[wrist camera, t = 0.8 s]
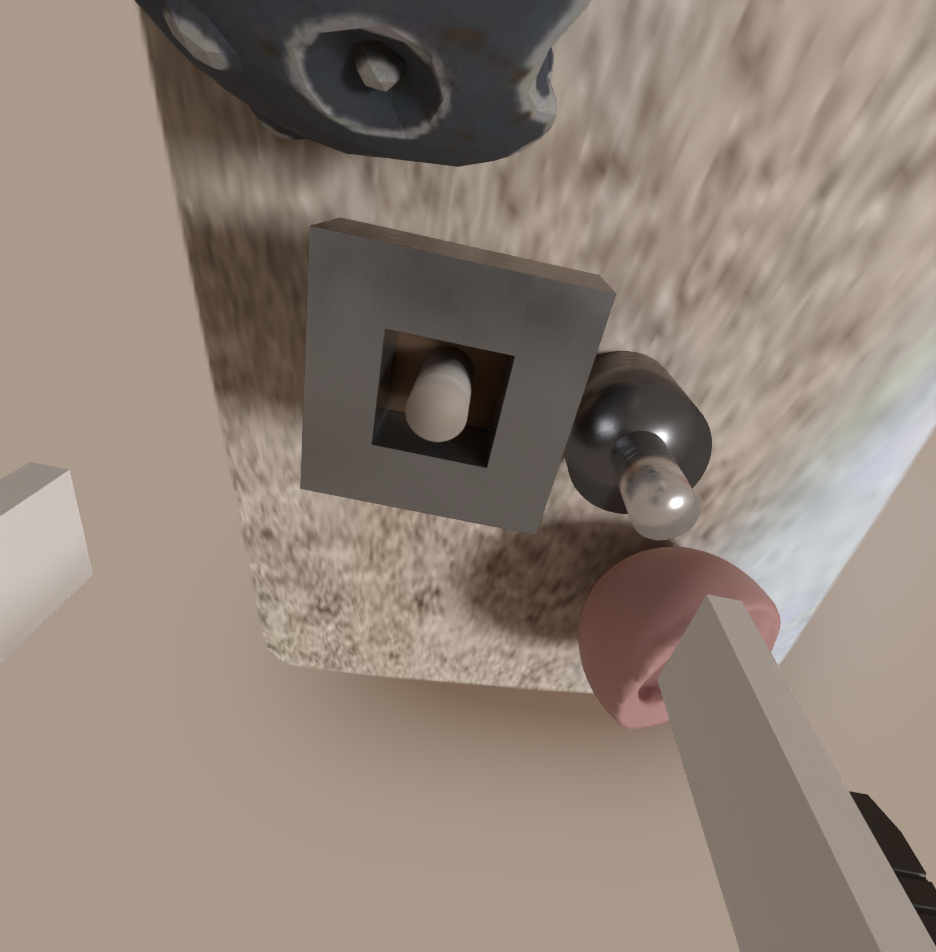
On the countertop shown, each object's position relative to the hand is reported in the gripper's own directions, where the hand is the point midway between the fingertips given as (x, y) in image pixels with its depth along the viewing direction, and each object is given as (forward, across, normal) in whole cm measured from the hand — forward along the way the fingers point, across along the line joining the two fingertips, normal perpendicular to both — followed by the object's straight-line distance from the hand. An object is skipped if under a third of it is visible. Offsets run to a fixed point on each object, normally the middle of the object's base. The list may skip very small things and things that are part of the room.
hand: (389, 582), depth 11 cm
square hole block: (+13, 0, 0) cm, 13 cm away
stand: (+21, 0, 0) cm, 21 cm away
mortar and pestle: (+21, +17, -15) cm, 31 cm away
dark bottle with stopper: (+21, +10, -3) cm, 23 cm away
